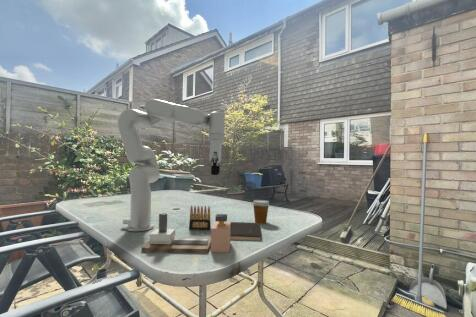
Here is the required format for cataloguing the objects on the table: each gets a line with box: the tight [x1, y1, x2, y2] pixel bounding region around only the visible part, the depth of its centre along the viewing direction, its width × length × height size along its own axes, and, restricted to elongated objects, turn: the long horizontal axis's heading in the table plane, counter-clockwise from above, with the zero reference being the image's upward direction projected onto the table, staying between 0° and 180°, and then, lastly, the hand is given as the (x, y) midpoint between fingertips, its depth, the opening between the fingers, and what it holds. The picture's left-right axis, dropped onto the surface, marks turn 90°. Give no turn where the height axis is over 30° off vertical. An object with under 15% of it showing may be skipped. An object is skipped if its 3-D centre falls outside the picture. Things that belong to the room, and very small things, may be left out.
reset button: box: [214, 213, 228, 226], centre depth 95 cm, size 4×4×5 cm
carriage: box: [149, 212, 176, 244], centre depth 95 cm, size 8×7×11 cm
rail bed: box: [141, 237, 211, 254], centre depth 95 cm, size 25×12×3 cm, turn 90°
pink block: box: [210, 221, 232, 253], centre depth 95 cm, size 7×10×9 cm
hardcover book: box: [230, 221, 262, 241], centre depth 116 cm, size 16×23×2 cm
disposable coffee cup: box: [252, 199, 270, 224], centre depth 135 cm, size 10×10×12 cm
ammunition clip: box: [188, 204, 212, 231], centre depth 119 cm, size 11×2×12 cm, turn 88°
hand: (215, 174), depth 113 cm, fingers open, 9 cm apart
